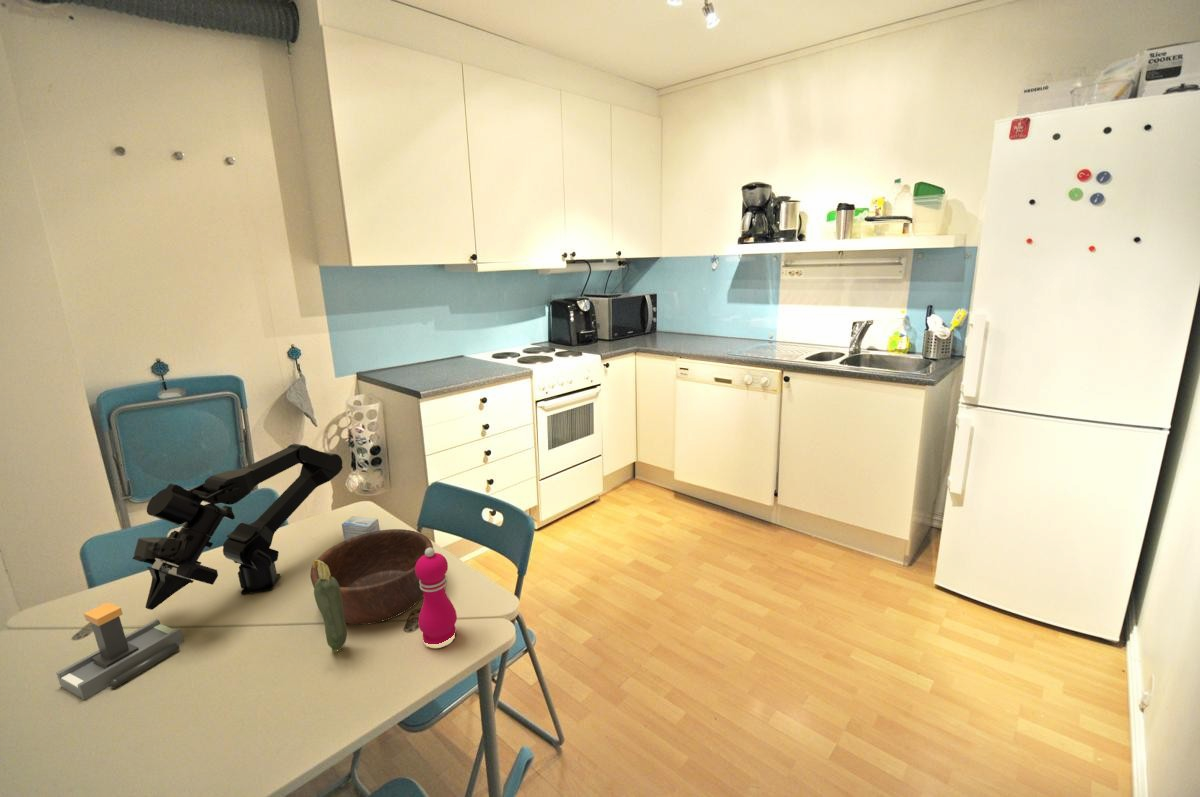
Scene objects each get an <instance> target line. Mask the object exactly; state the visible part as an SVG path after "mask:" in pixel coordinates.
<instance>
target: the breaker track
mask: <svg viewBox="0 0 1200 797" xmlns="http://www.w3.org/2000/svg"><path fill="white" fill-rule="evenodd" d="M181 629H182V628H180V627H177V628H175V629H174V628H171V627H168V626H166V625H164V624H161V621H160V619H158V618H156V619H155V620H153V621H150V622H149V623H147V624H145V625H143V626H141V627H139V628H137V629H136V630H134V631H132V632H129V633H128V634H127V635H125V637H126V641H127V643H129V644H132V645H134V646H136V647H138V648H139V650H138V651H136V652H134V653H132V654H131V655H129V656H127V657H125V658H124V659H122V660H120V661H118V662H117V663H115V664H113V665H111V666H109V667H108V668H104V667H102V666H100V665H98V664H96V663H94V662H93V661H92V657H94V656H96V655H98V654H100V651H99V649H98V650H97V651H94V652H93V653H90V654H89V655H87V656H86V657H83V658H82V659H80V660H77V661H76V662H74V663H72V664H70V665H69V666H66V667H65V668H63V669H61V670H58V671H57V672H56V675H57V676H56V677H57V679H58V683H59V685H60V687H61V688H62V689H64V690H66V691H67V692H69V693H71V694H73V695H75V696H77V697H78V698H79V699H82V700H83V701H86V700H88V699H90V698H91V697H93V696H94V695H96V694H98V693H99V692H101V691H103V690H104V689H106V688H108V687H110V688H112V689H113V688H117V687H120V686H121V685H123V684H125V683H126V682H129V681H130V680H131V679H133V678H134V677H136V676H138V675H139V674H142V673H143V672H145V671H146V670H148V669H149V668H152V667H153V666H155V665H156V664H157V663H159V662H161V661H163V660H164V659H166V658H168V657H170V656H171V655H173V654H174V653H177V652H178V651H179V650H180V647H179V645H180V643H181V644H182V643H184V642H185V641H184V637H183V633H182V630H181ZM92 695H93V696H92Z"/></svg>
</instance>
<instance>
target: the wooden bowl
mask: <svg viewBox="0 0 1200 797" xmlns="http://www.w3.org/2000/svg"><path fill="white" fill-rule="evenodd" d="M427 548H433V549H434V545H433V542H432V541H431V539H430V538H429V537H428V536H426V535H425V534H423V533H421V532H418V531H415V530H411V529H399V528H396V529H395V528H394V529H393V528H392V529H390V528H389V529H382V530H381V529H380V531H374V532H369V533H365V534H362V535H358V536H355V537H352V538H350V539H347V540H345V541H344V540H343V541H341V542H339V543H337V544H334V545H333V546H332V547H330V548H329V549H327V550H325V551H324V552H323V553H322V554H320V556H318V557H317V559H316V560H320V561H322V562H323V563H325V564H326V565H327V566H328V567H329V572H330V574H331V575H330V576H331V577H333V578H335V579H336V580H337V582H338V584H339V587H340V591H341V596H342V603H343V610H344V617H345V623H346V624H351V625H369V624H368V623H371V624H375V623H374V622H376V623H380V622H379V621H381V622H383V621H382V620H384V621H386V619H387V620H389V619H388V618H390V619H392V618H391V617H393V618H395V617H397V616H396V615H398V614H400V613H402V612H403V613H405V612H407V611H408V610H410V609H411V608H413V607H414V606H413V605H414V604H415V603H416V604H417V603H418V602H419V601H421V599H422V598H423V597H424V594H423V590H421V589H420V583H419V581H420V580H419V579H418V578H417V576H416V574H415V565H416V563H417V561H418V560H419V558H420V557H422V556H423V555H425V550H426V549H427ZM313 567H314V566H313V565H312V566H311V569H310V581H311V583H312V586H313V588H314V587H315V584H316V582H317V581H318V580H319V579H320V577H319V575H318V566H317V565H316V566H315V568H313ZM416 604H415V605H416ZM410 607H411V608H410ZM409 608H410V609H409ZM406 610H407V611H406ZM404 611H405V612H404ZM403 613H402V614H403ZM400 615H401V614H400ZM394 616H395V617H394ZM398 616H399V615H398Z"/></svg>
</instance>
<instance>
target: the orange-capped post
mask: <svg viewBox="0 0 1200 797" xmlns="http://www.w3.org/2000/svg"><path fill="white" fill-rule="evenodd" d="M83 615H84V619H85V620H86V621H87V622H89V623H90V624H91V629H92V631H93V635H94V638H95V641H96V644H97V647H98V650H99V651H100V654H98V655H96V656H94V657H92V661H93V662H94V663H96V664H98V665H100V666H102V667H104V668H108V667H109V666H111V665H113V664H115V663H117V662H118V661H120V660H122V659H124V658H125V657H127V656H129V655H131V654H132V653H134V652H136V651H138V650H139V648H138V647H136V646H134V645H132V644H129V643H127V641H126V637H125V636H126V635H125V630H124V627H123V624H122V622H121V617H120V616H122V615H124V614H123V611H122V607H121V606H118V605H115V604H113V603H111V602H107V601H106V603H103V604H101V605H99V606H97V607H94V608H92V609H89V610H88V611H86V612H84V613H83Z"/></svg>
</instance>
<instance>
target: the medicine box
mask: <svg viewBox="0 0 1200 797" xmlns="http://www.w3.org/2000/svg"><path fill="white" fill-rule="evenodd" d="M379 522H380V521H379V518H374V517H364V516H354V515H353V516H351V517H349V518H348V519H346V520H345V521H344V522H342V523H341V529H342V530H341V531H342V536H343V541H345V540H347V539H350V538H352V537H355V536H358V535H362V534H365V533H369V532H374V531H380V530H381V529H380V524H379Z"/></svg>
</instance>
